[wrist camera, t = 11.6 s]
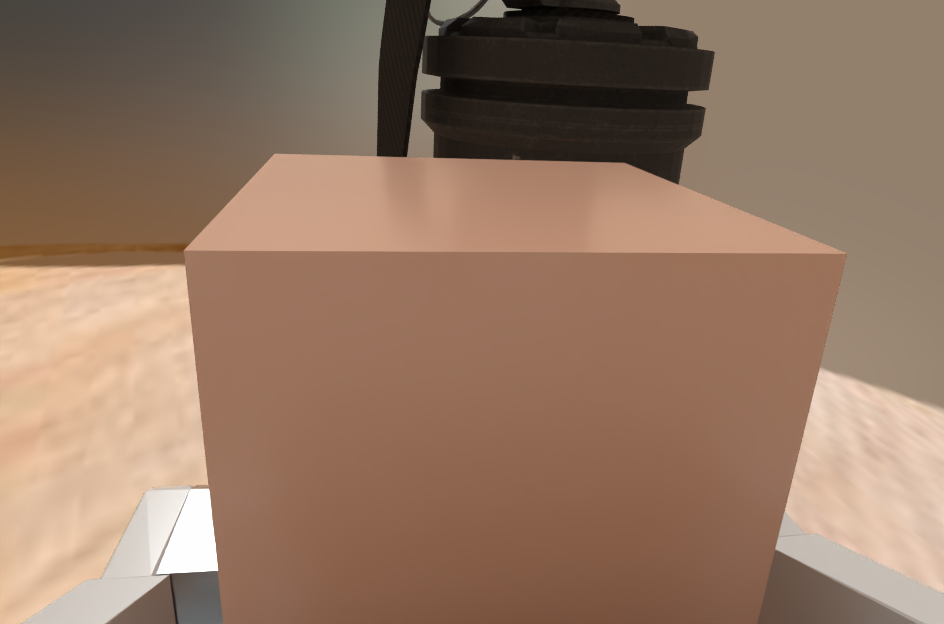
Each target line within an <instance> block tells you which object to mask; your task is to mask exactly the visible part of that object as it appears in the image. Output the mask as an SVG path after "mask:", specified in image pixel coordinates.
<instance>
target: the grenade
mask: <svg viewBox="0 0 944 624" xmlns="http://www.w3.org/2000/svg"><path fill="white" fill-rule="evenodd" d="M487 1H488V0H480V1H479V2H478V3H477V4H476V5H475V6H474V7H473V8H471V9H470V10H469V11H468V12H467V13H465V14H463V15H461V16H459V17H457V18H453V19H448V20H446V21H440V20H436V19H434V18H433V17H432V16H431V14H430V12H429V9H430V3H431V0H386V7H385V16H384V23H383V31H382V39H381V48H380V59H379V81H378V130H377V156H378V157H407V152H408V143H409V136H410V128H411V120H412V112H413V104H414V96H415V88H416V80H417V74H418V68H419V63H420V59H421V54H422V49H423V61H422V62H423V63H422V73H424V74H429V75H434V76H439V77H441V82H440V89H428V90H423V91H422V96H421V119H422V120H423V121H424V122H425V123H426V124H427V125H428V126H429V127H430V128H431V129H432V131H433V132H434V157H433V158H456V159H494V160H533V161H572V162H611V163H626V164H628V165H631V166H633V167H636V168H638V169H641V170H643V171H646V172H648V173H651V174H653V175H655V176H658V177H660V178H663V179H665V180H668V181H670V182H673V183H675V184H678V185H679V179H680V172H681V166H682V160H683V153H684V148H686V147H687V146H688V145H690V144H691V143H692V142H694V141H695V140H696V139H697V138H699V137H700V136H701V132H702V127H703V121H704V115H705V108H704V107H701V106H696V105H692V104H686V103H687V96H688V91H699V90H709V83H710V78H711V72H712V65H713V60H714V54H715V52H713V51H708V50H700V49H697V41H698V36H697V35H696V34H694V32H693V31H688V30H683V29H678V28H671V27H666V26H638V25H637V24H634V18H632V17H627V16H621V15H617V14H619V13H620V5H619V4H618V3H617V2H616V1H615V0H502V1H503V2H504V4H505V6H506V7H507V8H516V9H521V10H518V11H506V12H504V17H503V18H489V17H473V18H471V19H470V17H471V16H473V15H474V14H475V13H476V12H478V11H479V10H480V9H481V8H482V7H483V6H484V4H485V3H486V2H487ZM428 18H429V19H430V20H431V21H432V22H433V23H435V24H436V25H439V26H441V27H440V28H439V36H425V32H426V26H427V20H428Z"/></svg>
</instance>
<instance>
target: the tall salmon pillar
mask: <svg viewBox="0 0 944 624" xmlns="http://www.w3.org/2000/svg"><path fill="white" fill-rule="evenodd" d="M184 257H185V266H186V276H187V285H188V295H189V304H190V314H191V323H192V333H193V342H194V352H195V361H196V371H197V380H198V390H199V399H200V409H201V418H202V428H203V437H204V447H205V456H206V466H207V475H208V485H209V494H210V504H211V513H212V523H213V532H214V542H215V551H216V561H217V570H218V580H219V589H220V599H221V608H222V618H223V624H757V622H758V618H759V614H760V610H761V606H762V602H763V598H764V593H765V589H766V585H767V581H768V577H769V573H770V569H771V565H772V561H773V557H774V552H775V548H776V544H777V540H778V536H779V532H780V528H781V524H782V520H783V515H784V511H785V507H786V503H787V499H788V495H789V491H790V487H791V483H792V479H793V474H794V470H795V466H796V462H797V458H798V454H799V450H800V446H801V442H802V438H803V433H804V429H805V425H806V421H807V417H808V413H809V409H810V405H811V401H812V397H813V392H814V388H815V384H816V380H817V376H818V372H819V368H820V364H821V359H822V355H823V351H824V347H825V343H826V339H827V335H828V331H829V326H830V323H831V319H832V315H833V310H834V306H835V302H836V298H837V294H838V290H839V286H840V281H841V278H842V274H843V269H844V265H845V261H846V257H847V253H844V252H842V251H839V250H837V249H835V248H832V247H830V246H827V245H825V244H822V243H820V242H817V241H815V240H813V239H810V238H807V237H805V236H803V235H800V234H798V233H795V232H793V231H790V230H788V229H786V228H783V227H781V226H778V225H775V224H773V223H770V222H768V221H766V220H763V219H761V218H758V217H756V216H753V215H751V214H749V213H746V212H744V211H741V210H739V209H736V208H734V207H732V206H729V205H727V204H724V203H722V202H719V201H717V200H714V199H712V198H709V197H707V196H705V195H702V194H700V193H697V192H695V191H692V190H690V189H687V188H685V187H682V186H680V185H678V184H675V183H673V182H670V181H668V180H665V179H663V178H660V177H658V176H655V175H653V174H651V173H648V172H646V171H643V170H641V169H638V168H636V167H633V166H631V165H628V164H626V163H611V162H572V161H533V160H494V159H456V158H417V157H378V156H338V155H300V154H274V155H273V156H272V157H271V159H270V160H269V161H268V162H267V163H266V164H265V165H264V166H263V167H262V168H261V169H260V170H259V171H258V172H257V173H256V174H255V176H254V177H253V178H252V179H251V180H250V181H249V182H248V183H247V184H246V185H245V186H244V187H243V188H242V189H241V190H240V191H239V193H238V194H237V195H236V196H235V197H234V198H233V199H232V200H231V201H230V202H229V203H228V204H227V205H226V206H225V207H224V208H223V210H222V211H221V212H220V213H219V214H218V215H217V216H216V217H215V218H214V219H213V220H212V221H211V222H210V223H209V224H208V226H206V228H205V229H204V230H203V231H202V232H201V233H200V234H199V235H198V236H197V237H196V238H195V239H194V240H193V241H192V242H191V243H190V245H189V246H188V247H187V248H186V249H185V250H184Z"/></svg>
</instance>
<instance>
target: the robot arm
mask: <svg viewBox="0 0 944 624" xmlns="http://www.w3.org/2000/svg"><path fill="white" fill-rule="evenodd" d="M22 624H223V618H222V608H221V599H220V589H219V580H218V570H217V561H216V551H215V542H214V532H213V523H212V513H211V504H210V494H209V485H196V486H194V487H193V486H191V485H189V486H169V487H152V488H151V489H149V490H147V491H146V492H145V493H144V494H143V496H142V498H141V500H140V502H139V504H138V506H137V508H136V510H135V512H134V514H133V516H132V518H131V520H130V522H129V524H128V525H127V527H126V529H125V531H124V533H123V535H122V537H121V539H120V541H119V543H118V545H117V547H116V549H115V551H114V553H113V555H112V557H111V559H110V561H109V563H108V564H107V566H106V568H105V570H104V572H103V574H102V576H101V578H100V579H95V580H86V581H84V582H83V583H81V584H80V585H78V586H77V587H75V588H74V589H72V590H71V591H69V592H68V593H66V594H65V595H63V596H62V597H60V598H59V599H57V600H56V601H54V602H53V603H51V604H50V605H48V606H47V607H45V608H44V609H42V610H41V611H39V612H38V613H36V614H35V615H33V616H32V617H30V618H29V619H27V620H26V621H25V622H23V623H22ZM757 624H944V593H942V592H939V591H937V590H935V589H933V588H931V587H929V586H927V585H925V584H922V583H920V582H918V581H916V580H914V579H912V578H910V577H908V576H905V575H903V574H901V573H899V572H897V571H895V570H893V569H891V568H889V567H886V566H884V565H882V564H880V563H878V562H876V561H874V560H872V559H869V558H867V557H865V556H863V555H861V554H859V553H857V552H855V551H852V550H850V549H848V548H846V547H844V546H842V545H840V544H838V543H836V542H833V541H831V540H829V539H827V538H825V537H823V536H821V535H819V534H805V533H804V532H803V531H802V530H801V529H800V528H799V526H798V525H797V524H796V523H795V522H794V521H793V520H792V519H791V518H790V517H789V516H788V515H787V514H786V512H785V511H784V515H783V520H782V524H781V528H780V532H779V536H778V540H777V544H776V548H775V552H774V557H773V561H772V565H771V569H770V573H769V577H768V581H767V585H766V589H765V593H764V598H763V602H762V606H761V610H760V614H759V618H758V622H757Z"/></svg>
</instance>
